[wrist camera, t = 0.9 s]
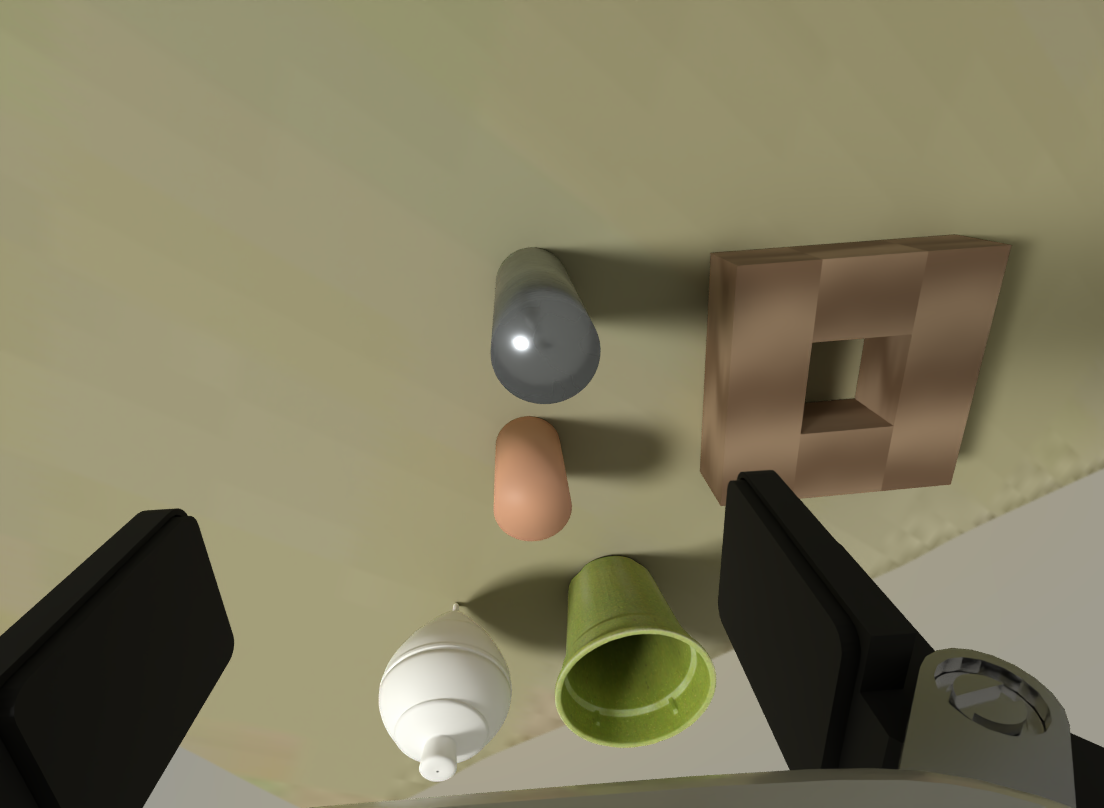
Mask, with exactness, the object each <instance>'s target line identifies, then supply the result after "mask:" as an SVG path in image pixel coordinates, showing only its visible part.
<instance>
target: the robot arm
mask: <svg viewBox="0 0 1104 808" xmlns="http://www.w3.org/2000/svg"><path fill="white" fill-rule="evenodd" d="M718 609H719V614H720V618H721V621H722V624H723V626H724V628H725V630H726V633H727V635H728V637H729V639H730V641H731V643H732V646H733V648H734V650H735V652H736V654H737V656H738V659H739V661H740V663H741V665H742V667H743V669H744V671H745V674H746V676H747V678H748V680H749V682H750V684H751V687H752V689H753V691H754V693H755V695H756V698H757V700H758V702H759V704H760V706H761V708H762V711H763V713H764V715H765V717H766V719H767V722H768V724H769V726H770V728H771V730H772V732H773V735H774V737H775V739H776V741H777V743H778V745H779V748H780V750H781V752H782V754H783V756H784V759H785V761H786V763H787V765H788V767H789V769H790V770H788V771H772V772H755V773H738V774H722V775H706V776H689V777H677V778H665V779H651V780H639V781H626V782H613V783H602V784H588V785H575V786H563V787H550V788H538V789H526V790H512V791H500V792H488V793H476V794H465V795H452V796H441V797H429V798H416V799H405V800H393V801H381V802H369V803H358V804H346V805H334V806H323V807H311V808H1104V748H1103V747H1101V746H1099V745H1097V744H1094V743H1092V742H1090V741H1087V740H1085V739H1083V738H1081V737H1078V736H1076V735H1073V734H1072V733H1070V725H1069V722H1068V719H1067V716H1066V713H1065V709H1064V708H1063V707H1062V705H1061V704H1060V703H1059V701H1058V700H1057V699H1056V697H1055V696H1054V695H1053V693H1052V692H1050V691H1049V690H1048V689H1047V688H1046V687H1045V686H1044V685H1043V684H1041V683H1040V682H1039V681H1038V680H1037V679H1036V678H1034V677H1033V676H1031V675H1030V674H1028V673H1026V672H1025V671H1023V670H1022V669H1020V668H1018V667H1017V666H1015V665H1013V664H1011V663H1009V662H1006V661H1004V660H1002V659H999V658H997V657H995V656H993V655H989V654H985V653H982V652H978V651H974V650H969V649H958V648H949V649H943V650H937V651H934V649H933V648H932V647H931V646H930V645H929V644H928V643H927V641H926V640H925V639H924V638H923V637H922V636H921V635H920V634H919V632H918V631H917V630H916V629H915V628H914V627H913V626H912V624H911V623H910V622H909V621H908V620H907V619H906V618H905V617H904V615H903V614H902V613H901V612H900V611H899V610H898V609H897V608H896V606H895V605H894V604H893V603H892V602H891V601H890V600H889V598H888V597H887V596H886V595H885V594H884V593H883V592H882V591H881V589H880V588H879V587H878V586H877V585H876V584H875V583H874V581H873V580H872V579H871V578H870V577H869V576H868V575H867V573H866V572H865V571H864V570H863V569H862V568H861V567H860V565H859V564H858V563H857V562H856V561H855V560H854V559H853V557H852V556H851V555H850V554H849V553H848V552H847V551H846V550H845V548H844V547H843V546H842V545H840V544H839V543H838V542H837V541H836V540H835V539H834V538H833V537H832V535H831V534H830V533H829V532H828V531H827V530H826V529H825V527H824V526H823V525H822V524H821V523H820V522H819V521H818V520H817V518H816V517H815V516H814V515H813V514H812V513H811V512H810V510H809V509H808V508H807V507H806V506H805V505H804V504H803V502H802V501H801V500H800V499H799V498H798V497H797V496H796V494H795V493H794V492H793V491H792V490H791V489H790V488H789V486H788V485H787V484H786V483H785V482H784V481H783V480H782V478H781V477H780V476H779V475H778V474H777V473H776V472H775V471H774V470H761V471H746V472H740V473H739V474H738V477H737V480H731V481H730V482H729V483H728V486H727V496H726V508H725V521H724V533H723V546H722V558H721V570H720V583H719V595H718ZM233 649H234V637H233V633H232V630H231V627H230V624H229V620H228V617H227V614H226V611H225V608H224V605H223V601H222V598H221V595H220V592H219V589H218V586H217V582H216V579H215V576H214V573H213V570H212V566H211V563H210V560H209V557H208V554H207V551H206V547H205V544H204V541H203V538H202V535H201V531H200V528H199V525H198V523H197V521H196V519H195V518H194V517H192V516H188V515H187V514H186V513H185V512H184V511H183V510H181V509H179V508H178V509H162V510H147V511H142V512H140V513H138V514H137V515H136V516H135V517H133V518H132V519H131V520H130V521H129V522H128V523H127V524H126V525H125V526H123V527H122V528H121V529H120V530H119V531H118V532H117V533H116V534H114V535H113V536H112V537H111V538H110V539H109V540H108V541H107V542H105V543H104V544H103V545H102V546H101V547H100V548H99V549H98V550H96V551H95V552H94V553H93V554H92V555H91V556H90V557H89V558H88V559H86V560H85V561H84V562H83V563H82V564H81V565H80V566H79V567H77V568H76V569H75V570H74V571H73V572H72V573H71V574H70V575H68V576H67V577H66V578H65V579H64V580H63V581H62V582H61V583H59V584H58V585H57V586H56V587H55V588H54V589H53V590H52V591H51V592H49V593H48V594H47V595H46V596H45V597H44V598H43V599H42V600H40V601H39V602H38V603H37V604H36V605H35V606H34V607H33V608H31V609H30V610H29V611H28V612H27V613H26V614H25V615H24V616H22V617H21V618H20V619H19V620H18V621H17V622H16V623H15V624H14V625H12V626H11V627H10V628H9V629H8V630H7V631H6V632H5V633H3V634H2V635H1V636H0V808H143V806H144V804H145V803H146V801H147V799H148V798H149V796H150V794H151V793H152V791H153V789H154V788H155V786H156V784H157V782H158V781H159V779H160V777H161V776H162V774H163V772H164V771H165V769H166V767H167V765H168V764H169V762H170V760H171V759H172V757H173V755H174V754H175V752H176V750H177V749H178V747H179V745H180V744H181V742H182V740H183V739H184V737H185V735H186V733H187V732H188V730H189V728H190V727H191V725H192V723H193V722H194V720H195V718H196V717H197V715H198V713H199V711H200V710H201V708H202V706H203V705H204V703H205V701H206V700H207V698H208V696H209V695H210V693H211V691H212V690H213V688H214V686H215V684H216V683H217V681H218V679H219V678H220V676H221V674H222V673H223V671H224V669H225V668H226V666H227V664H228V662H229V661H230V659H231V657H232V653H233Z"/></svg>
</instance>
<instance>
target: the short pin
mask: <svg viewBox="0 0 1104 808" xmlns="http://www.w3.org/2000/svg"><path fill="white" fill-rule="evenodd" d="M571 510H572V504H571V498H570V492H569V487H568V482H567V476H566V471H565V466H564V460H563V455H562V449H561V444H560V439H559V435H558V433H557V431H556V430H555V428H554V427H553V426H552V425H551V424H550V423H548V422H547V421H545V420H543V419H541V418H537V417H531V416H527V417H520V418H517V419H514V420H512V421H510V422H509V423H507V424H506V425H505V426H504V427H503V428H502V429H501V431H500V432H499V434H498V437H497V440H496V457H495V486H494V516H495V519H496V521H497V523H498V525H499V526H500V528H501V529H502V530H503V531H504V532H505V533H507V534H508V535H510V536H512V537H514V538H516V539H519V540H524V541H539V540H543V539H547V538H549V537H551V536H553V535H555V534H557V533H558V532H559V531H560V530H562V529H563V527H564V526H565V525H566V524H567V522H568V520H569V518H570V515H571Z"/></svg>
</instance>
